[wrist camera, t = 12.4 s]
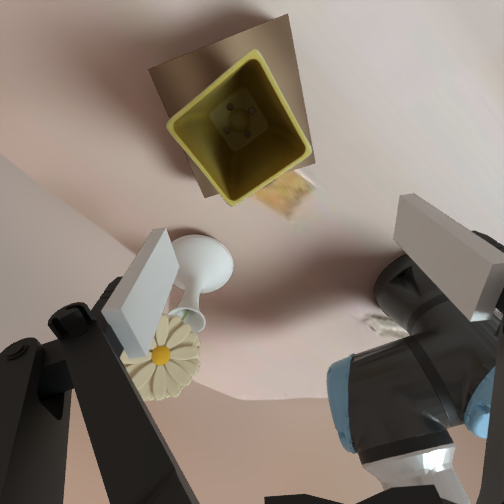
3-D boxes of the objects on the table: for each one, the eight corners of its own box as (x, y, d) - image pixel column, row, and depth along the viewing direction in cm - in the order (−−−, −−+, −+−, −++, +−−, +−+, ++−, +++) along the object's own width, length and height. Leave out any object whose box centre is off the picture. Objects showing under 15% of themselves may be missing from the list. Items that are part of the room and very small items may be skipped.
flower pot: (295, 132, 30) (315, 153, 23) (232, 177, 33) (231, 209, 25) (250, 50, 26) (256, 44, 19) (181, 109, 28) (162, 124, 21)
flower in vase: (246, 267, 47) (250, 423, 26) (193, 294, 50) (158, 453, 29) (200, 208, 41) (156, 350, 20) (143, 242, 44) (52, 398, 23)
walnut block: (280, 23, 30) (287, 13, 25) (305, 150, 37) (315, 163, 32) (162, 69, 32) (148, 69, 27) (209, 182, 39) (204, 198, 34)
